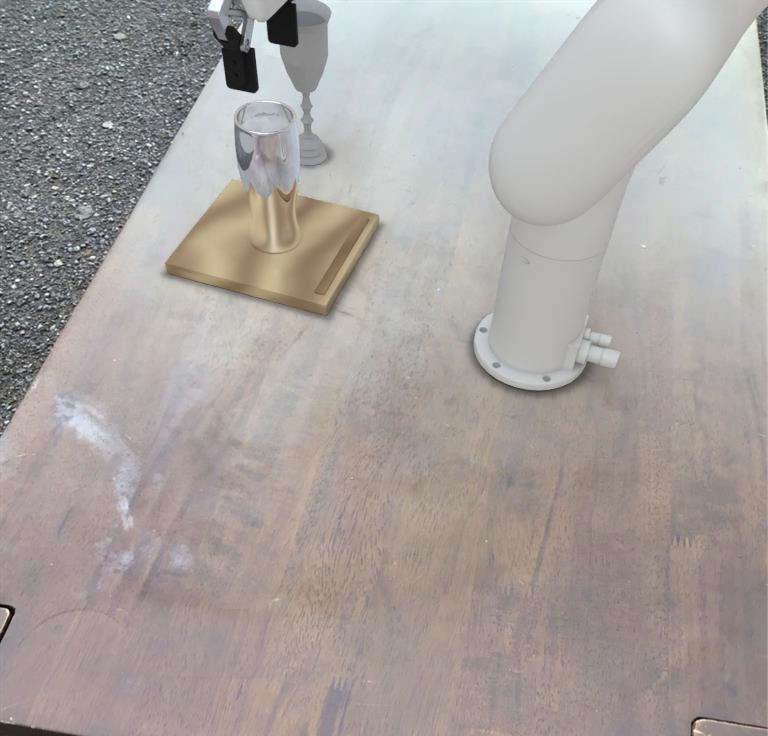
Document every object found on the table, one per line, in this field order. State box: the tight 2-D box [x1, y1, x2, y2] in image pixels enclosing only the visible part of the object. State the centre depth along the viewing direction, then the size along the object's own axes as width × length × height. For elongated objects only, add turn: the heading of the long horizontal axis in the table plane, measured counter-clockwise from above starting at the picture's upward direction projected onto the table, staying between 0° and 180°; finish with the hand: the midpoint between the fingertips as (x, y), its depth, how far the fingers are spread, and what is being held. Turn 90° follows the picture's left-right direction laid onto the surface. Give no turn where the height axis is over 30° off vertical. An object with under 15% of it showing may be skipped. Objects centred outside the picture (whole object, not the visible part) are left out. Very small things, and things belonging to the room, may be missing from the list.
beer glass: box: [233, 99, 301, 253], centre depth 91 cm, size 7×7×15 cm
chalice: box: [279, 0, 332, 166], centre depth 103 cm, size 7×7×18 cm
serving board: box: [164, 178, 380, 317], centre depth 98 cm, size 20×18×2 cm
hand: (263, 66), depth 81 cm, fingers open, 9 cm apart
